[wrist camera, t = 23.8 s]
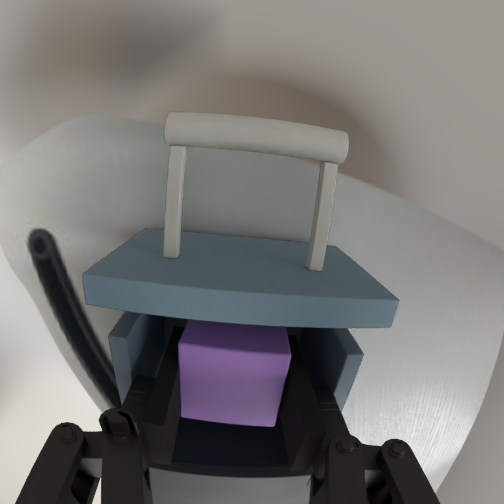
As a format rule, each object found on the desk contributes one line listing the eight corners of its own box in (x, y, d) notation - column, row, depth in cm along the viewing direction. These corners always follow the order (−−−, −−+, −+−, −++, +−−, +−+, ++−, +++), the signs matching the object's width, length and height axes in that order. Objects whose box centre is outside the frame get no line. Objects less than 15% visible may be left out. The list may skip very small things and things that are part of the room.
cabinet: (145, 357, 20) (106, 457, 11) (311, 370, 21) (345, 470, 11) (161, 458, 24) (148, 531, 14) (279, 466, 25) (290, 539, 15)
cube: (197, 297, 15) (177, 342, 11) (282, 306, 15) (291, 355, 11) (195, 365, 16) (180, 417, 12) (270, 373, 16) (274, 427, 12)
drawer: (152, 127, 15) (88, 98, 7) (349, 148, 16) (428, 139, 8) (154, 398, 20) (131, 476, 12) (297, 408, 21) (315, 486, 13)
